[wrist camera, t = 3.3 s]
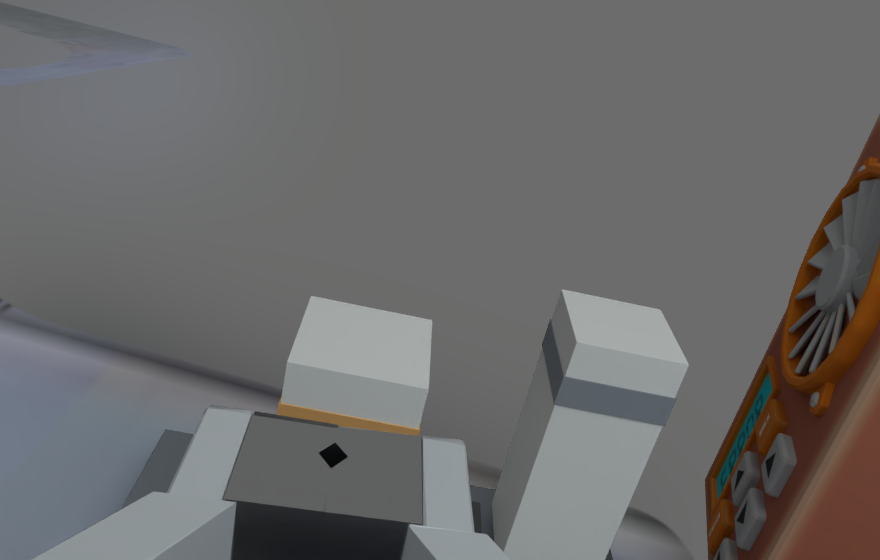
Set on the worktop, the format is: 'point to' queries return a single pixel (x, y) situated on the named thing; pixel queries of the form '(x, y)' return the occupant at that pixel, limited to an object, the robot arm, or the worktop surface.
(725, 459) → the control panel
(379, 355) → the breaker toggle
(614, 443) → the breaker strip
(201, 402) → the worktop surface
